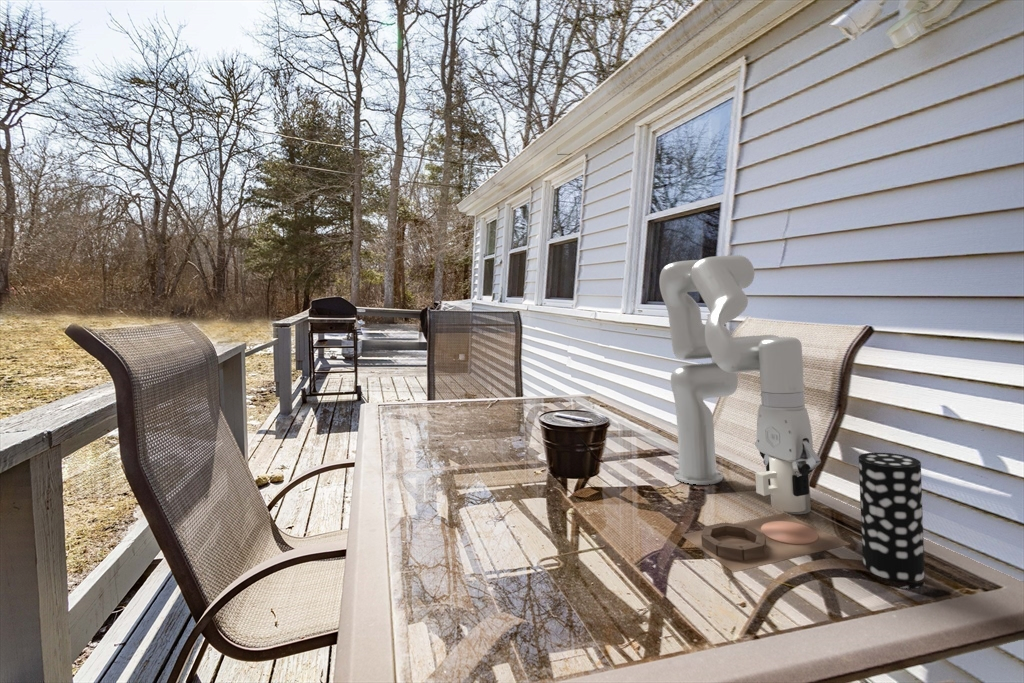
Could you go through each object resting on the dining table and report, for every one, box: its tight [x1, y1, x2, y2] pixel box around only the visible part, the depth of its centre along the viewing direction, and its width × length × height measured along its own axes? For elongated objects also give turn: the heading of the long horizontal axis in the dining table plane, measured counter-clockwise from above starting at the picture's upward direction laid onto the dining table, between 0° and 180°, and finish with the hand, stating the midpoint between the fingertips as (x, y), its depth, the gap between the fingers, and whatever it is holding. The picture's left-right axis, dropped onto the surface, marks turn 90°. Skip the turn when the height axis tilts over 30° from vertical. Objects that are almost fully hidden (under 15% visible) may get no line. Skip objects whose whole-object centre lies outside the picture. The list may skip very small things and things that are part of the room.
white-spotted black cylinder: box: [858, 452, 926, 590], centre depth 83 cm, size 8×8×20 cm
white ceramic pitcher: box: [754, 456, 808, 513], centre depth 98 cm, size 11×6×10 cm, turn 105°
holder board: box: [680, 512, 851, 573], centre depth 97 cm, size 16×26×3 cm, turn 105°
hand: (787, 488), depth 98 cm, fingers closed on white ceramic pitcher, 6 cm apart
